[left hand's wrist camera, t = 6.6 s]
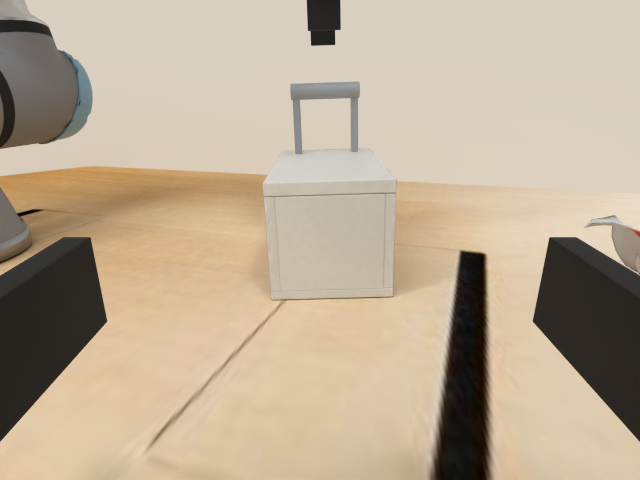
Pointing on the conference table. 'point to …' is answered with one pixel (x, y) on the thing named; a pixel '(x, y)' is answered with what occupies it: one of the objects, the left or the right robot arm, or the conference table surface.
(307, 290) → the chest
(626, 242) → the fish
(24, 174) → the conference table surface
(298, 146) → the lid
